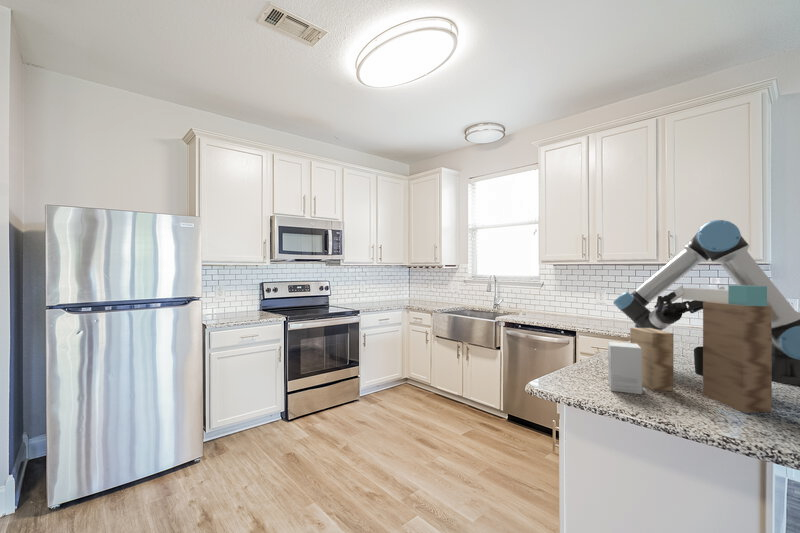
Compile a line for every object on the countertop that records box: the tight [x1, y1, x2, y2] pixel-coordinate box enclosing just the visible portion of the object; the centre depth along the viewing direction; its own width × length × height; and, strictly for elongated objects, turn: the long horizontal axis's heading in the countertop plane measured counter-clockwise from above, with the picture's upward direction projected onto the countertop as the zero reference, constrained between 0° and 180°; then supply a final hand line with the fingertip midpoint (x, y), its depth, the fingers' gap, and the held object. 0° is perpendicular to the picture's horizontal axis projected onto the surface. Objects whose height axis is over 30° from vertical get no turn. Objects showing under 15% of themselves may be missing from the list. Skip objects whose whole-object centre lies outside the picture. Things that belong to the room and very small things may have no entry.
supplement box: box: [607, 341, 643, 395], centre depth 123 cm, size 9×9×15 cm
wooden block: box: [629, 327, 674, 392], centre depth 128 cm, size 7×12×19 cm, turn 178°
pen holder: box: [693, 345, 703, 376], centre depth 142 cm, size 9×9×10 cm
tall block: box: [702, 302, 773, 413], centre depth 111 cm, size 8×14×30 cm, turn 178°
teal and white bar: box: [681, 284, 767, 306], centre depth 117 cm, size 26×6×6 cm, turn 179°
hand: (703, 289), depth 123 cm, fingers open, 13 cm apart
